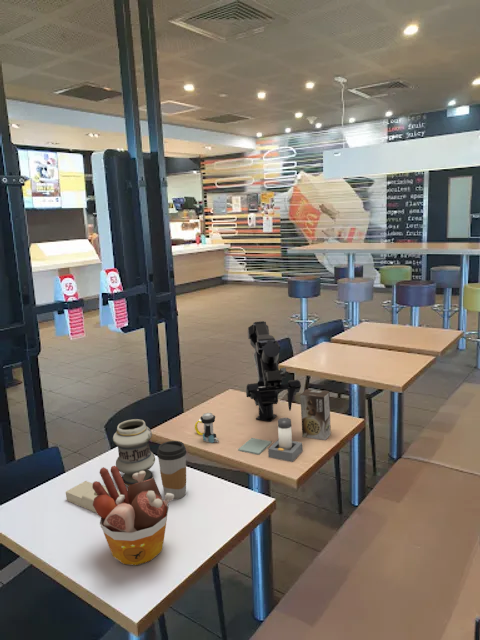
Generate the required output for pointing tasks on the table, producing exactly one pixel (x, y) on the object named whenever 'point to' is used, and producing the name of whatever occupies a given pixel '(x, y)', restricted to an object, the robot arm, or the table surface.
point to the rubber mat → (255, 446)
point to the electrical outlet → (83, 495)
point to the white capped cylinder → (285, 433)
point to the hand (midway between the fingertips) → (276, 411)
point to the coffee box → (315, 414)
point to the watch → (197, 428)
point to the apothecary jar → (133, 450)
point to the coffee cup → (173, 468)
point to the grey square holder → (285, 451)
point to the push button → (208, 427)
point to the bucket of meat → (131, 516)
